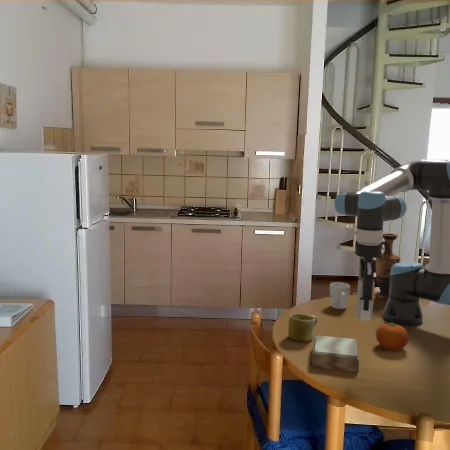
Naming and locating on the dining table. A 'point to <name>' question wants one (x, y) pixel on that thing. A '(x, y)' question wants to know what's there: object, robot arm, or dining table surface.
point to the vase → (385, 266)
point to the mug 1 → (301, 327)
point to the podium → (335, 353)
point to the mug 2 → (339, 294)
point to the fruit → (392, 336)
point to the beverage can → (359, 295)
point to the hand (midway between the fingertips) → (363, 316)
